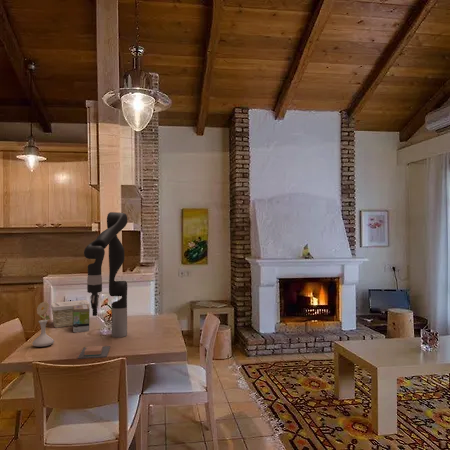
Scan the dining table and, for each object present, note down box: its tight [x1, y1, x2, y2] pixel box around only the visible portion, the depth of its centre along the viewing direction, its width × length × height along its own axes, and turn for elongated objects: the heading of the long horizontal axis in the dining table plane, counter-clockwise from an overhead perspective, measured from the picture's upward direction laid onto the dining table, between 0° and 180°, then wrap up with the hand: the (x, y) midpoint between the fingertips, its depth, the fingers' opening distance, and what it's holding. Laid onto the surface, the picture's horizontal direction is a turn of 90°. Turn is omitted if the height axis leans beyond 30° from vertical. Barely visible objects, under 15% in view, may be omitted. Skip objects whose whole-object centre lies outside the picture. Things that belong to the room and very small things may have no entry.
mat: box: [77, 345, 111, 360], centre depth 218 cm, size 18×14×1 cm
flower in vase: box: [31, 301, 55, 348], centre depth 231 cm, size 13×11×25 cm
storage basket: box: [50, 299, 91, 329], centre depth 283 cm, size 24×16×15 cm
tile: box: [85, 345, 103, 356], centre depth 215 cm, size 2×8×8 cm
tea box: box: [72, 305, 91, 333], centre depth 268 cm, size 15×10×15 cm, turn 22°
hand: (94, 315), depth 221 cm, fingers closed
